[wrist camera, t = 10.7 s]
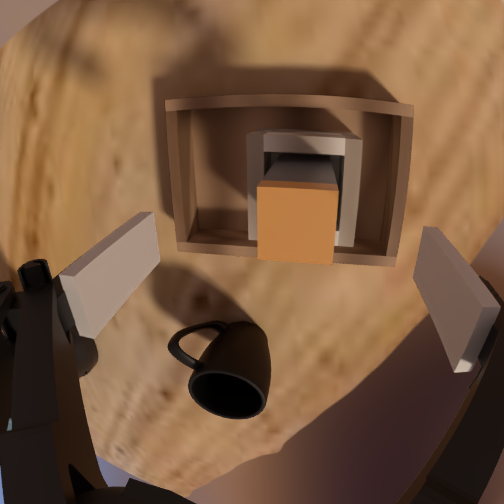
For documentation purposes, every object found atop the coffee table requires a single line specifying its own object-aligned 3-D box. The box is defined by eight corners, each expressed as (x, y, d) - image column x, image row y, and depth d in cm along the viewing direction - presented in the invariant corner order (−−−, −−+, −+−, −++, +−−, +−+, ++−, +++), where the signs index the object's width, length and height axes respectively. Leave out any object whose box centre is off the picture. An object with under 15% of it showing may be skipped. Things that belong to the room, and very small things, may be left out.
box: (192, 235, 34) (164, 266, 28) (183, 99, 28) (147, 100, 21) (386, 248, 30) (401, 284, 24) (401, 104, 24) (426, 105, 18)
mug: (221, 276, 35) (192, 331, 27) (292, 344, 38) (282, 406, 29) (178, 311, 39) (145, 363, 30) (245, 370, 41) (228, 426, 33)
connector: (280, 200, 27) (257, 259, 17) (280, 153, 25) (256, 186, 16) (327, 203, 26) (332, 264, 17) (329, 156, 25) (338, 191, 15)
